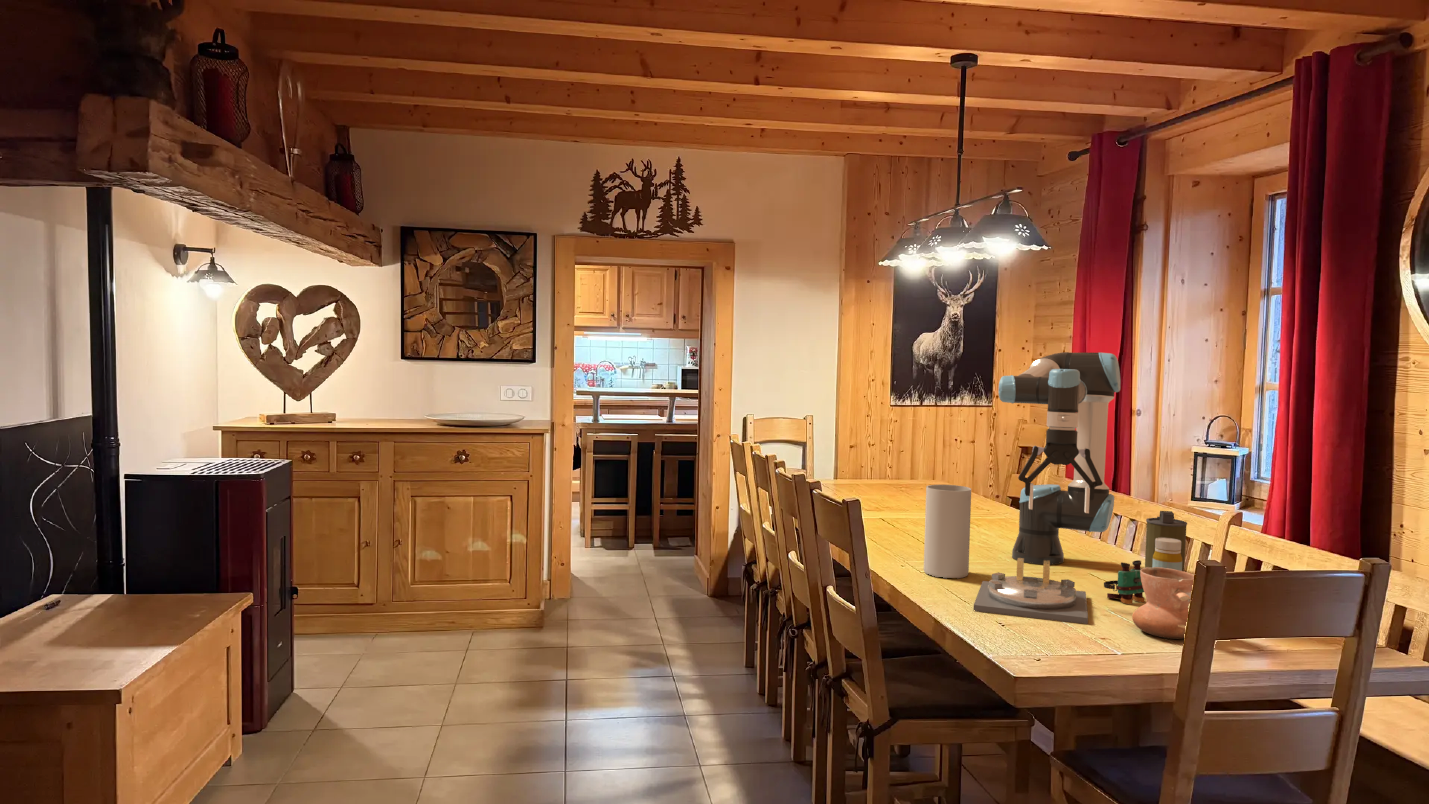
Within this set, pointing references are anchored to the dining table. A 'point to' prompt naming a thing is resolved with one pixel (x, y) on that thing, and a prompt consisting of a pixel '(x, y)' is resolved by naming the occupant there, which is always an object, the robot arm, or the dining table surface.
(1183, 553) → the canister
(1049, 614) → the base board
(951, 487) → the cylinder vase
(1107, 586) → the binoculars
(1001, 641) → the dining table surface
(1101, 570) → the dining table surface
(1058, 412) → the robot arm
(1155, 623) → the ceramic jug
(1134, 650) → the dining table surface
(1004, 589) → the oval turntable platform
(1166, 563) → the bottle
